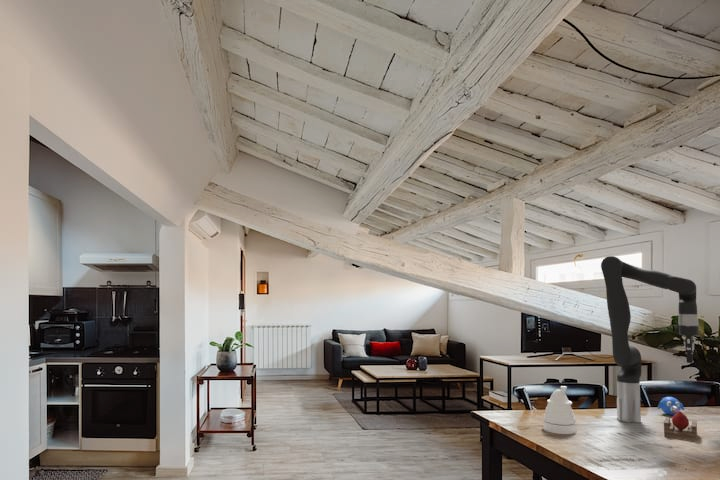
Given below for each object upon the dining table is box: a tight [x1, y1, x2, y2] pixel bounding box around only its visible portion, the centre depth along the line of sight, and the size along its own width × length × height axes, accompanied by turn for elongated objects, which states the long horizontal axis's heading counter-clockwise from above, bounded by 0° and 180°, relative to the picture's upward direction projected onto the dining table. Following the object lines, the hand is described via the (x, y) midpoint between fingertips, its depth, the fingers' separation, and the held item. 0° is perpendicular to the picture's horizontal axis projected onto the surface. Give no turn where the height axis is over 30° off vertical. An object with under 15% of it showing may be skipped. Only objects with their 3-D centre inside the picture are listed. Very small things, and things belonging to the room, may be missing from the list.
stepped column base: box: [663, 416, 698, 442], centre depth 216 cm, size 12×11×6 cm
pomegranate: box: [671, 410, 690, 431], centre depth 216 cm, size 6×6×8 cm
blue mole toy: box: [657, 396, 685, 416], centre depth 253 cm, size 12×12×8 cm
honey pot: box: [542, 385, 577, 435], centre depth 222 cm, size 13×13×18 cm
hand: (690, 361), depth 232 cm, fingers open, 8 cm apart
